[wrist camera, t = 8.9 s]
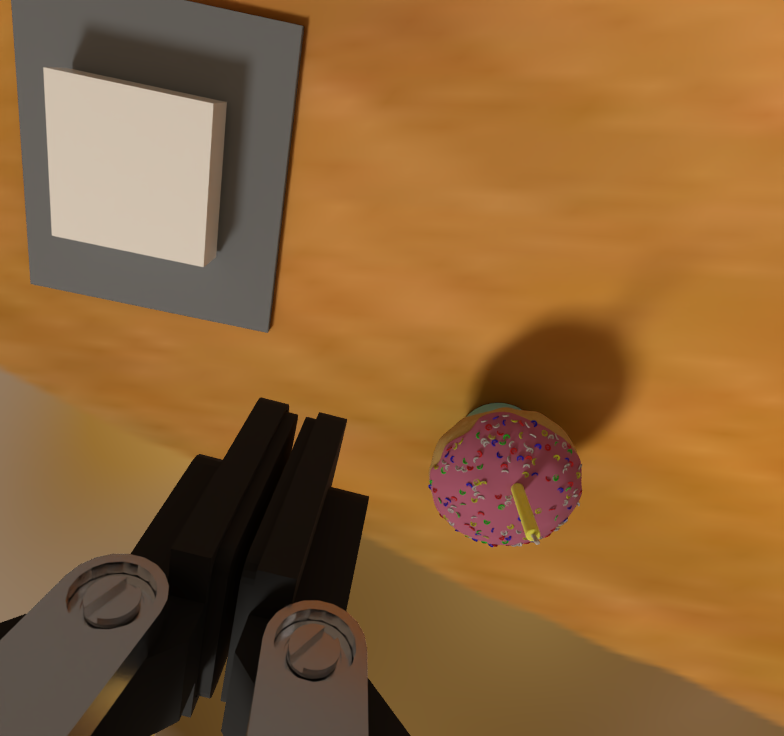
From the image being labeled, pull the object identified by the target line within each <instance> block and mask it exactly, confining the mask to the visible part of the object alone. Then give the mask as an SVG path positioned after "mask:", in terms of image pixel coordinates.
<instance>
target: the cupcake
mask: <svg viewBox="0 0 784 736" xmlns="http://www.w3.org/2000/svg"><path fill="white" fill-rule="evenodd" d="M581 467H582V464H581V462H580V459H579V456H578V455H577V452H576V449H575V447H574V445H573V443H572V441H571V439H570V438H569V436H568V435H567V433H566V432H565V431H564V430H563V429H562V428H561V427H560V426H559V425H558V424H556V423H554V422H553V421H551V420H550V419H548V418H547V417H546V416H545V415H543V414H541V413H539V412H536V411H524V410H521V409H520V408H518V407H516V406H513V405H510V404H506V403H491V404H486V405H483V406H481V407H479V408H477V409H475V410H473V411H472V412H471V413H470V414H468V415H467V417H465V418H463V419H462V420H460V421H459V422H458V423H457V424H456V425H455V426H454V427H452V428H451V429H450V430H449V431H447V432H446V433H445V434H444V435H443V436H442V437H441V438H440V440H439V442H438V443H437V446H436V448H435V451H434V454H433V458H432V463H431V466H430V469H429V480H430V485H429V488H430V489H431V493H432V496H433V499H434V503H435V506H436V508H437V510H438V511H439V513H440V514H439V515H440V516H441V517H442V518H444V519H446V520H447V521H448V522H449V524H450V525H451V526H453V527H454V528H455V529H456V530H455V531H459V532H461V533H463V534H464V535H465V537H468V538H472V539H473V538H474V539H473V540H474V541H478V540H479V541H481V542H482V543H488V544H489V546H491V545H492V546H491V547H493V546H495V547H497V546H498V545H506V546H510V545H511V546H522V544H523V543H524V544H529V543H530V542H534V543H535V544H537V545H538V544H540V542H539V541H538V539H542V538H544V537H548V536H550V535H551V533H552V532H553V531H557V530H559V528H558V527H560V526H561V525H563V524H564V523H566V522H567V521H568V516H569V515H570V514H571V513H572V511H573V510H574V508H575V507H576V505H578V506H580V504H579V502H578V501H579V499H580V497H581V494H582V486H581ZM564 521H565V522H564ZM493 544H494V545H493Z"/></svg>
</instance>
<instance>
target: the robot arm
mask: <svg viewBox="0 0 784 736" xmlns="http://www.w3.org/2000/svg"><path fill="white" fill-rule="evenodd" d="M297 420H298V415H297V414H293V413H289V404H285V403H281V402H277V401H273V400H269V399H265V398H259V400H258V401H257V403H256V405H255V406H254V408H253V410H252V411H251V413H250V415H249V416H248V418H247V420H246V422H245V423H244V425H243V427H242V428H241V430H240V432H239V433H238V435H237V437H236V438H235V440H234V442H233V444H232V445H231V447H230V449H229V450H228V452H227V454H226V455H225V457H224V459H223V460H221V459H217V458H213V457H209V456H205V455H201V454H199V455H197V456H196V457H195V458H194V459H193V461H192V462H191V464H190V465H189V467H188V468H187V470H186V471H185V473H184V474H183V476H182V477H181V479H180V480H179V482H178V483H177V485H176V486H175V488H174V489H173V491H172V492H171V494H170V495H169V497H168V498H167V500H166V502H165V503H164V504H163V506H162V508H161V509H160V510H159V512H158V513H157V515H156V516H155V518H154V519H153V521H152V522H151V524H150V525H149V527H148V529H147V530H146V531H145V533H144V535H143V536H142V537H141V539H140V541H139V542H138V544H137V545H136V547H135V548H134V550H133V551H132V552H131V554H110V555H105V556H100V557H96V558H94V559H91V560H89V561H87V562H85V563H83V564H80V565H78V566H77V567H76V568H74V569H73V570H72V571H71V572H69V573H68V574H67V575H65V576H64V577H63V578H62V579H61V580H60V581H59V583H58V584H56V585H55V586H54V587H53V588H52V589H51V590H50V591H49V592H48V594H46V595H45V596H44V597H43V598H42V599H41V600H40V601H39V602H38V603H37V604H36V605H35V606H34V607H33V608H32V609H31V610H30V611H29V612H28V613H27V614H24V615H21V616H19V617H16V618H13V619H10V620H7V621H4V622H2V623H0V736H155V735H156V733H157V732H159V731H161V730H163V729H165V728H166V727H168V726H170V725H172V724H174V723H176V722H178V721H179V720H180V717H181V715H183V716H187V717H191V715H192V713H193V710H194V708H195V705H196V703H197V700H198V698H199V696H203V697H207V698H211V697H212V695H213V693H214V690H215V688H216V685H217V683H218V680H219V677H220V675H221V672H222V670H223V667H224V665H225V662H226V659H227V657H228V659H227V665H226V671H225V677H224V683H223V689H222V695H221V701H223V702H226V706H225V712H224V718H223V723H222V729H221V732H222V733H223V736H410V734H409V733H408V732H407V730H406V729H405V728H404V726H403V725H402V723H401V722H400V721H399V719H398V718H397V717H396V715H395V714H394V713H393V711H392V710H391V709H390V707H389V706H388V704H387V703H386V702H385V700H384V699H383V698H382V696H381V695H380V694H379V692H378V691H377V690H376V688H375V687H374V686H373V684H372V683H371V681H370V680H369V679H368V677H367V676H368V675H367V646H366V641H365V635H364V633H363V631H362V629H361V628H360V626H359V624H358V622H357V621H356V620H355V619H354V618H353V617H352V616H351V615H350V614H349V613H348V612H347V611H346V609H347V604H348V599H349V594H350V589H351V584H352V580H353V574H354V570H355V564H356V560H357V555H358V550H359V545H360V540H361V535H362V530H363V525H364V520H365V515H366V510H367V505H368V500H369V496H365V495H361V494H357V493H353V492H349V491H345V490H341V489H337V488H333V487H331V486H332V482H333V478H334V473H335V469H336V465H337V461H338V457H339V452H340V448H341V444H342V440H343V436H344V431H345V427H346V423H347V419H344V418H340V417H336V416H333V415H329V414H325V413H321V412H319V414H318V416H317V419H313V418H309V417H306V418H305V421H304V423H303V425H302V428H301V430H300V432H299V435H298V437H297V439H296V442H295V444H294V446H293V441H294V436H295V431H296V425H297ZM292 446H293V449H292Z"/></svg>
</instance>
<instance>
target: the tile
mask: <svg viewBox="0 0 784 736" xmlns="http://www.w3.org/2000/svg"><path fill="white" fill-rule="evenodd" d="M43 72H44V92H45V111H46V131H47V150H48V170H49V190H50V209H51V229H52V236H56V237H61V238H66V239H70V240H75V241H80V242H85V243H90V244H94V245H99V246H104V247H109V248H114V249H118V250H123V251H128V252H133V253H138V254H142V255H147V256H152V257H157V258H162V259H166V260H171V261H176V262H181V263H186V264H190V265H195V266H200V267H204V266H206V265H207V264H208V263H209V262H211V261H212V260H213V259H215V258H216V252H217V238H218V223H219V209H220V194H221V180H222V166H223V151H224V137H225V122H226V108H227V102H224V101H219V100H214V99H210V98H205V97H200V96H196V95H191V94H186V93H182V92H177V91H172V90H168V89H163V88H158V87H154V86H149V85H144V84H140V83H135V82H130V81H126V80H121V79H116V78H112V77H107V76H102V75H98V74H93V73H88V72H84V71H79V70H74V69H70V68H54V67H43Z"/></svg>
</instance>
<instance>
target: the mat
mask: <svg viewBox="0 0 784 736" xmlns="http://www.w3.org/2000/svg"><path fill="white" fill-rule="evenodd" d="M11 4H12V19H13V33H14V48H15V62H16V77H17V91H18V106H19V120H20V135H21V149H22V164H23V179H24V193H25V208H26V222H27V237H28V251H29V266H30V280H31V284H34V285H39V286H44V287H49V288H54V289H58V290H63V291H68V292H73V293H78V294H83V295H87V296H92V297H97V298H102V299H107V300H112V301H116V302H121V303H126V304H131V305H136V306H141V307H145V308H150V309H155V310H160V311H165V312H170V313H175V314H179V315H184V316H189V317H194V318H199V319H204V320H208V321H213V322H218V323H223V324H228V325H233V326H237V327H242V328H247V329H252V330H257V331H262V332H266V333H268V331H269V329H270V320H271V312H272V303H273V294H274V285H275V277H276V268H277V259H278V251H279V242H280V233H281V224H282V216H283V207H284V198H285V190H286V181H287V172H288V163H289V155H290V146H291V137H292V129H293V120H294V111H295V102H296V94H297V85H298V76H299V68H300V59H301V50H302V41H303V33H304V26H301V25H296V24H292V23H287V22H283V21H278V20H273V19H269V18H264V17H260V16H255V15H250V14H246V13H241V12H237V11H232V10H227V9H223V8H218V7H214V6H209V5H204V4H200V3H195V2H191V1H186V0H11ZM43 67H54V68H70V69H74V70H79V71H84V72H88V73H93V74H98V75H102V76H107V77H112V78H116V79H121V80H126V81H130V82H135V83H140V84H144V85H149V86H154V87H158V88H163V89H168V90H172V91H177V92H182V93H186V94H191V95H196V96H200V97H205V98H210V99H214V100H219V101H224V102H227V108H226V122H225V137H224V151H223V166H222V180H221V194H220V209H219V223H218V238H217V252H216V258H215V259H213V260H212V261H211V262H209V263H208V264H207V265H206V266H204V267H200V266H195V265H190V264H186V263H181V262H176V261H171V260H166V259H162V258H157V257H152V256H147V255H142V254H138V253H133V252H128V251H123V250H118V249H114V248H109V247H104V246H99V245H94V244H90V243H85V242H80V241H75V240H70V239H66V238H61V237H56V236H52V229H51V209H50V190H49V170H48V150H47V131H46V111H45V92H44V72H43Z"/></svg>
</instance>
